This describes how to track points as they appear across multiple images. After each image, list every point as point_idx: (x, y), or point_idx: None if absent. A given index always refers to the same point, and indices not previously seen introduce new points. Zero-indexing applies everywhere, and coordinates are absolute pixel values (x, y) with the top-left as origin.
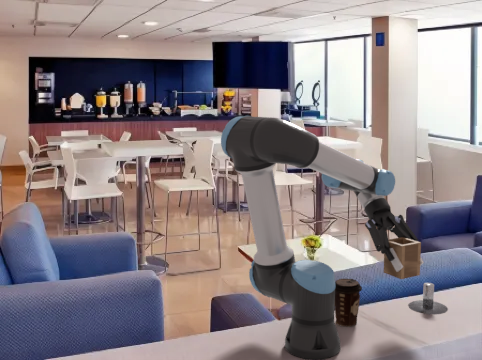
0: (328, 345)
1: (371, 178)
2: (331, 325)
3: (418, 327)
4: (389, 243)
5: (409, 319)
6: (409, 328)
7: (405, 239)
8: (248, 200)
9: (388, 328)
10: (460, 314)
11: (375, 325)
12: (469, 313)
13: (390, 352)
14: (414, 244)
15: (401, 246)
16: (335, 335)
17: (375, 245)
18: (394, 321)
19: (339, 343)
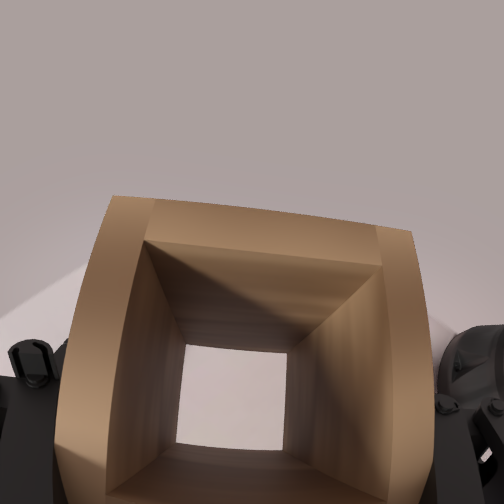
0: (485, 325)
1: None
2: (500, 328)
3: (205, 351)
4: (421, 445)
5: (179, 403)
6: (232, 361)
7: (109, 441)
8: None
9: (284, 394)
10: (47, 329)
11: None
12: (30, 317)
13: None
14: (220, 210)
15: (409, 245)
16: (479, 332)
17: (488, 481)
18: (229, 420)
19: (459, 339)
